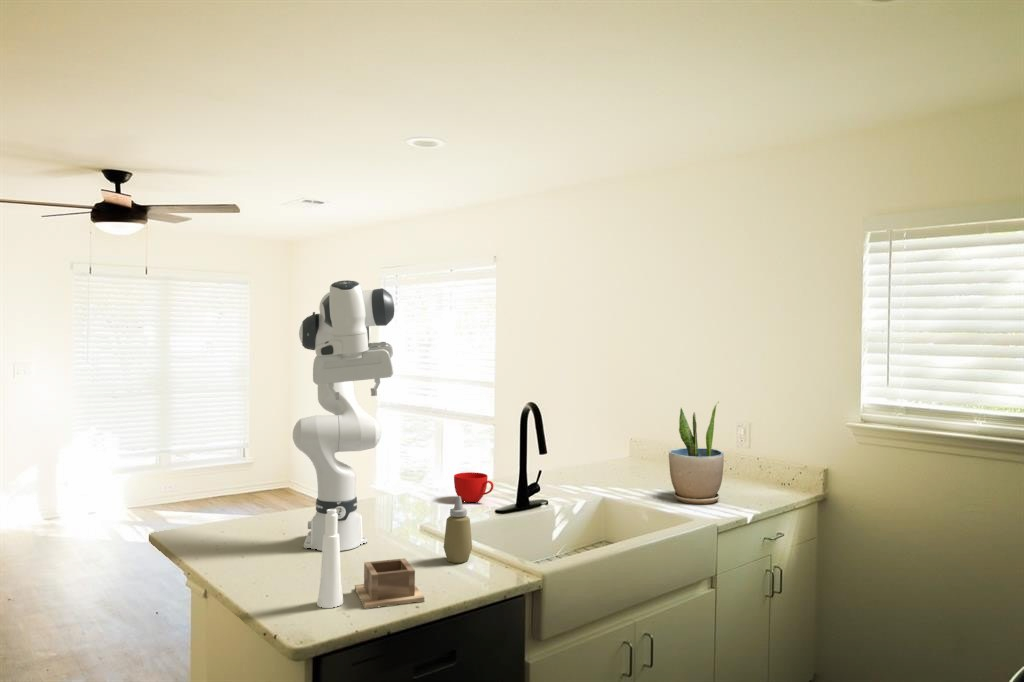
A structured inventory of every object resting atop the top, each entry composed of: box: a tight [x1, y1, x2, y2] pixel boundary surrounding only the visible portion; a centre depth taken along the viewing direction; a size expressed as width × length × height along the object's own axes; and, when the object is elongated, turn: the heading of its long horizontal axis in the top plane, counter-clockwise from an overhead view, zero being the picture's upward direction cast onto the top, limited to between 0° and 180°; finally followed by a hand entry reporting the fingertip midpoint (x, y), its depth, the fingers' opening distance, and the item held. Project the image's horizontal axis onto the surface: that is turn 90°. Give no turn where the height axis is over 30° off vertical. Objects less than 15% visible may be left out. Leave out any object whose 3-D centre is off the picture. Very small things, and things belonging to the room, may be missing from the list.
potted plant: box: [668, 401, 725, 505], centre depth 285 cm, size 21×22×40 cm
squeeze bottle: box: [443, 495, 473, 564], centre depth 203 cm, size 8×8×18 cm
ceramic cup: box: [453, 471, 494, 503], centre depth 276 cm, size 13×17×10 cm
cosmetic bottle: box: [316, 509, 345, 609], centre depth 168 cm, size 6×6×22 cm
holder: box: [354, 558, 425, 609], centre depth 174 cm, size 14×14×7 cm
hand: (355, 397), depth 186 cm, fingers open, 8 cm apart
